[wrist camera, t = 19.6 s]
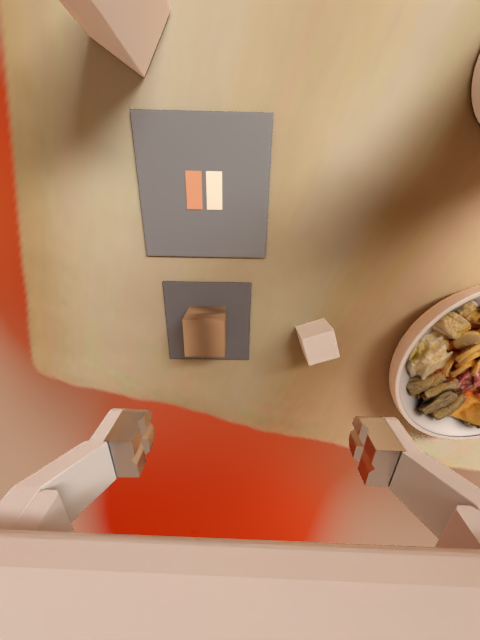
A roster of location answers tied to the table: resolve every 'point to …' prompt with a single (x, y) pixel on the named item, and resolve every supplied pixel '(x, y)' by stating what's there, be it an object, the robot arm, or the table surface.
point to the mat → (209, 294)
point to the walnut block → (205, 331)
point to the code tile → (203, 181)
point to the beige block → (317, 341)
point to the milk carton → (123, 27)
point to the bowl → (441, 369)
